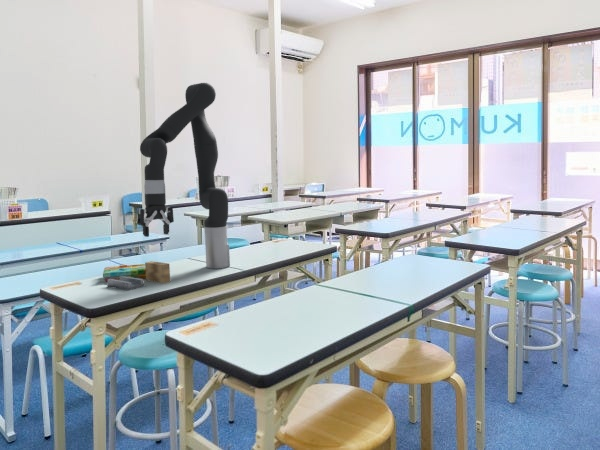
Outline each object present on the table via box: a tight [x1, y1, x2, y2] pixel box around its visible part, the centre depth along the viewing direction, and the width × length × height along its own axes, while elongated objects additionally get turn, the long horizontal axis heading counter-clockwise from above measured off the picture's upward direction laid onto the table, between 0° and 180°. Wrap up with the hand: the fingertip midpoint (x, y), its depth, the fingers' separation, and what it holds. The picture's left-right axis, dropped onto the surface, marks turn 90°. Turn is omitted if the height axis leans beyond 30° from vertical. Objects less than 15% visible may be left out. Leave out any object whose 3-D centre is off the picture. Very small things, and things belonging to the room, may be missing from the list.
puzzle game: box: [102, 263, 146, 283], centre depth 200 cm, size 12×5×20 cm
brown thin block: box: [144, 260, 171, 284], centre depth 192 cm, size 10×3×7 cm, turn 56°
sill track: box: [106, 276, 145, 292], centre depth 186 cm, size 12×7×3 cm, turn 56°
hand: (156, 235), depth 192 cm, fingers open, 8 cm apart
